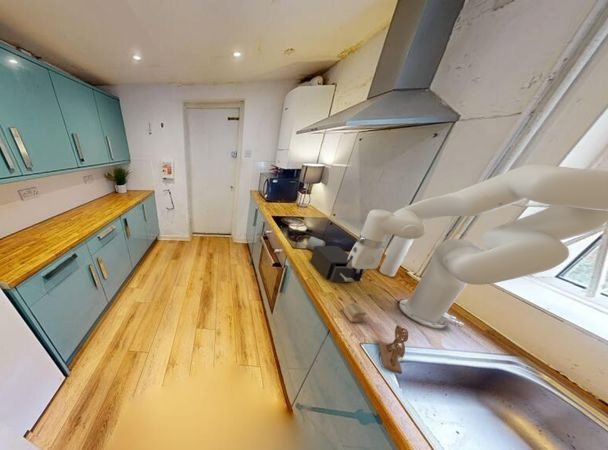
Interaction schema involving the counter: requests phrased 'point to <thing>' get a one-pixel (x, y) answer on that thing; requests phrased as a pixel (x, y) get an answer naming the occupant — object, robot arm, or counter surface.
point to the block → (354, 312)
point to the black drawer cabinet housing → (328, 258)
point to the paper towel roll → (395, 256)
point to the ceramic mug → (314, 243)
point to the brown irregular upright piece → (394, 350)
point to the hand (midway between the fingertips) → (354, 279)
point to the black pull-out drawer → (341, 273)
